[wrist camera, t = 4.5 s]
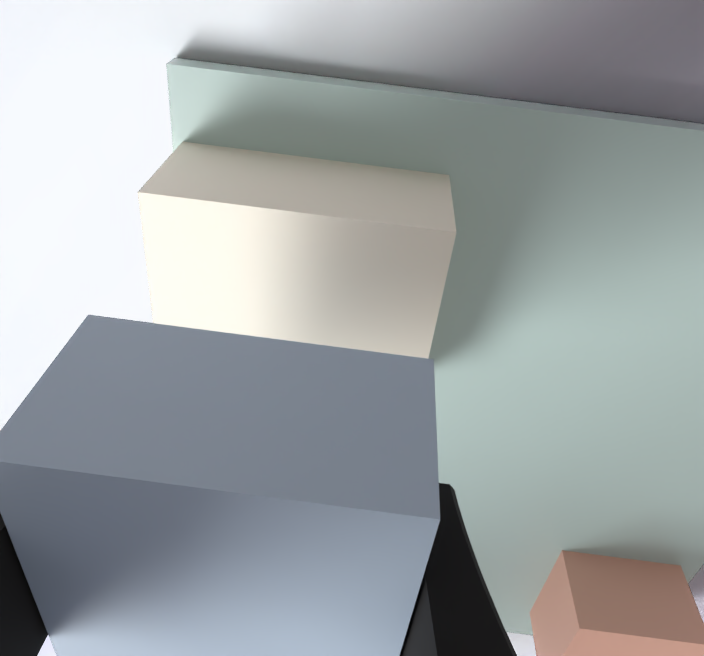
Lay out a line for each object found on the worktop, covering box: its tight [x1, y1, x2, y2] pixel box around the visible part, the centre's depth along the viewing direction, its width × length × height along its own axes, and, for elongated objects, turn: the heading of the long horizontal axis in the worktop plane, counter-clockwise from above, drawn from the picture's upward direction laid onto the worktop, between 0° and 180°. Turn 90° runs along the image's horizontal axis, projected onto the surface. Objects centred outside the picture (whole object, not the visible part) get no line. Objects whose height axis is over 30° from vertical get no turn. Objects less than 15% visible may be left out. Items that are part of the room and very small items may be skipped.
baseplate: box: [166, 58, 704, 635], centre depth 20 cm, size 22×19×1 cm
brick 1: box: [138, 142, 457, 359], centre depth 15 cm, size 6×6×3 cm
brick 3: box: [530, 550, 704, 656], centre depth 23 cm, size 4×4×3 cm
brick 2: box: [0, 315, 440, 656], centre depth 10 cm, size 6×6×3 cm
